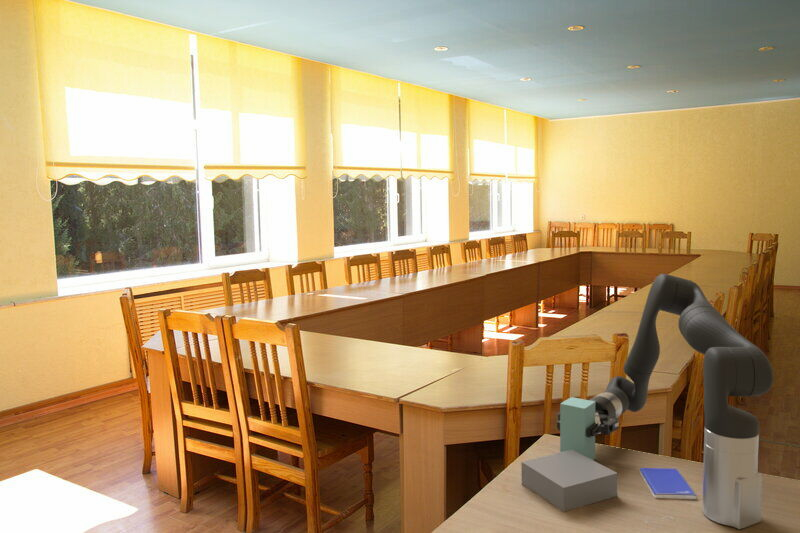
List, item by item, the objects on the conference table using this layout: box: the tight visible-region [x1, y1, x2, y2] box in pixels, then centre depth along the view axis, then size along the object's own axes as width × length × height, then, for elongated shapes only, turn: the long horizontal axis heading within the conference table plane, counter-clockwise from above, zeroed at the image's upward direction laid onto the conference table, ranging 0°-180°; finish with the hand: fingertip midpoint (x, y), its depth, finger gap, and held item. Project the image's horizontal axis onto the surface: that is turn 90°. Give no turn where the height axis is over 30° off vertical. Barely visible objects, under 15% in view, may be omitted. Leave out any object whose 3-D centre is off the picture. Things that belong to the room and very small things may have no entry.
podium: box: [521, 450, 618, 513], centre depth 135 cm, size 14×14×5 cm
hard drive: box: [639, 467, 697, 500], centre depth 136 cm, size 2×8×12 cm
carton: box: [559, 396, 596, 461], centre depth 149 cm, size 6×6×14 cm
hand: (573, 430), depth 147 cm, fingers open, 6 cm apart
